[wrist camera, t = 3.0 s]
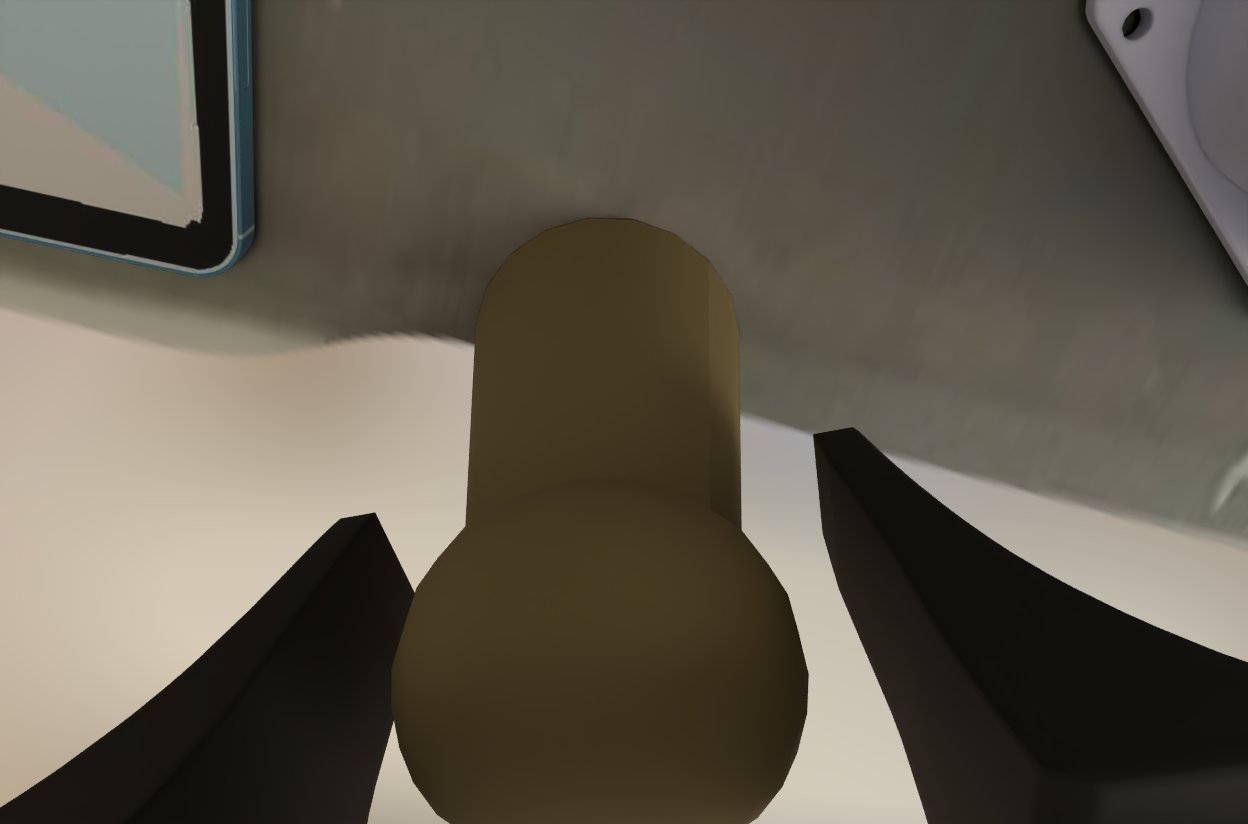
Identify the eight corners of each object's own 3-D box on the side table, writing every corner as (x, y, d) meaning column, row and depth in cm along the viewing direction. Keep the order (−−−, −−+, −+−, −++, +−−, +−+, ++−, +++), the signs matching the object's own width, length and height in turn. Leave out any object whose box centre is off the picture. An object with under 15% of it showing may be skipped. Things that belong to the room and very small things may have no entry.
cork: (552, 485, 20) (497, 975, 11) (424, 287, 17) (192, 725, 8) (775, 399, 19) (935, 872, 9) (677, 168, 16) (767, 523, 6)
